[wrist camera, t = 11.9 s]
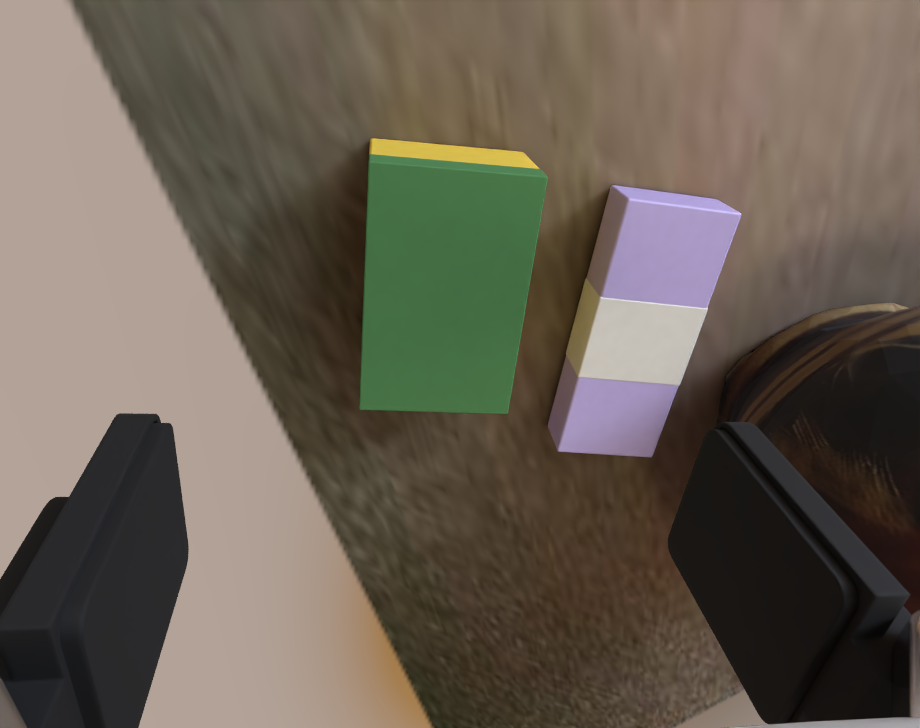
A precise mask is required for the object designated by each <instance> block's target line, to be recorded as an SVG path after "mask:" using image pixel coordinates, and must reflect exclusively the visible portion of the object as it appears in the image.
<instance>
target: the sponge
mask: <svg viewBox="0 0 920 728" xmlns="http://www.w3.org/2000/svg"><path fill="white" fill-rule="evenodd" d="M547 180H548V177H547V176H546V175H545V174H544V173H543V171H542V170H541V169H539V168H538V167H537V166H536V165H535V164H534V163H533V162H532V161H531V160H530V159H529V158H528V157H527V156H526V155H525V154H524V153H523V152H517V151H506V150H495V149H485V148H474V147H463V146H452V145H441V144H430V143H419V142H408V141H397V140H386V139H375V138H372V139H371V140H370V148H369V162H368V187H367V214H366V240H365V267H364V293H363V320H362V346H361V373H360V399H359V409H360V410H381V411H414V412H448V413H481V414H508V409H509V403H510V397H511V392H512V386H513V380H514V374H515V368H516V362H517V356H518V350H519V345H520V339H521V333H522V327H523V321H524V315H525V309H526V304H527V298H528V292H529V286H530V280H531V274H532V268H533V262H534V257H535V251H536V245H537V239H538V233H539V227H540V221H541V215H542V210H543V204H544V198H545V192H546V186H547Z"/></svg>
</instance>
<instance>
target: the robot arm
mask: <svg viewBox="0 0 920 728" xmlns="http://www.w3.org/2000/svg"><path fill="white" fill-rule="evenodd" d="M668 548H669V552H670V555H671V557H672V559H673V561H674V562H675V564H676V566H677V568H678V570H679V571H680V573H681V575H682V577H683V579H684V580H685V582H686V584H687V586H688V588H689V589H690V591H691V593H692V595H693V597H694V599H695V600H696V602H697V604H698V606H699V608H700V609H701V611H702V613H703V615H704V617H705V618H706V620H707V622H708V624H709V626H710V627H711V629H712V631H713V633H714V635H715V636H716V638H717V640H718V642H719V644H720V645H721V647H722V649H723V651H724V653H725V655H726V656H727V658H728V660H729V662H730V664H731V665H732V667H733V669H734V671H735V673H736V674H737V676H738V678H739V680H740V682H741V683H742V685H743V687H744V689H745V691H746V692H747V694H748V696H749V698H750V700H751V701H752V703H753V705H754V707H755V709H756V710H757V712H758V714H759V716H760V717H761V719H762V720H763V721H764V722H765V723H767V724H769V725H756V726H741V727H727V728H920V609H919V610H918V611H916V612H915V613H913V614H912V615H911V614H910V613H909V612H908V611H907V609H906V608H905V607H904V604H905V602H906V601H907V599H908V598H909V596H910V594H909V592H908V591H907V590H906V589H905V588H904V587H903V586H902V585H901V584H900V583H899V581H898V580H897V579H896V578H895V577H894V576H893V575H892V574H891V573H890V572H889V571H888V569H887V568H886V567H885V566H884V565H883V564H882V563H881V562H880V561H879V560H878V559H877V557H876V556H875V555H874V554H873V553H872V552H871V551H870V550H869V549H868V548H867V547H866V545H865V544H864V543H863V542H862V541H861V540H860V539H859V538H858V537H857V536H856V535H855V533H854V532H853V531H852V530H851V529H850V528H849V527H848V526H847V525H846V524H845V522H844V521H843V520H842V519H841V518H840V517H839V516H838V515H837V514H836V513H835V512H834V510H833V509H832V508H831V507H830V506H829V505H828V504H827V503H826V502H825V501H824V500H823V498H822V497H821V496H820V495H819V494H818V493H817V492H816V491H815V490H814V489H813V488H812V486H811V485H810V484H809V483H808V482H807V481H806V480H805V479H804V478H803V477H802V475H801V474H800V473H799V472H798V471H797V470H796V469H795V468H794V467H793V466H792V465H791V463H790V462H789V461H788V460H787V459H786V458H785V457H784V456H783V455H782V454H781V453H780V451H779V450H778V449H777V448H776V447H775V446H774V445H773V444H772V443H771V442H770V441H769V439H768V438H767V437H766V436H765V435H764V434H763V433H762V432H761V431H760V430H759V429H758V427H757V426H755V425H754V424H753V423H749V422H721V423H718V424H717V425H716V426H715V427H714V429H713V430H709V431H708V432H707V433H706V435H705V437H704V440H703V443H702V446H701V448H700V451H699V454H698V457H697V459H696V462H695V465H694V468H693V470H692V473H691V476H690V479H689V481H688V484H687V487H686V490H685V492H684V495H683V498H682V501H681V503H680V506H679V509H678V512H677V514H676V517H675V520H674V523H673V525H672V528H671V531H670V534H669V537H668ZM187 561H188V539H187V531H186V524H185V516H184V508H183V501H182V493H181V486H180V478H179V471H178V463H177V456H176V448H175V441H174V433H173V427H172V425H171V424H170V423H161V421H160V418H159V416H158V415H157V414H118V415H116V417H115V418H114V420H113V421H112V423H111V425H110V427H109V428H108V430H107V432H106V434H105V435H104V437H103V439H102V441H101V442H100V444H99V446H98V447H97V449H96V451H95V453H94V454H93V456H92V458H91V460H90V461H89V463H88V465H87V467H86V469H85V470H84V472H83V474H82V476H81V477H80V479H79V481H78V482H77V484H76V486H75V488H74V489H73V491H72V493H71V495H70V496H69V497H55V498H53V499H52V500H50V501H49V502H48V503H47V505H46V506H45V507H44V508H43V510H42V512H41V513H40V515H39V517H38V518H37V520H36V521H35V523H34V525H33V526H32V528H31V530H30V531H29V533H28V535H27V536H26V538H25V540H24V541H23V543H22V544H21V546H20V548H19V549H18V551H17V553H16V554H15V556H14V558H13V559H12V561H11V562H10V564H9V566H8V567H7V569H6V571H5V573H4V574H3V576H2V577H1V579H0V728H138V727H139V723H140V720H141V717H142V713H143V710H144V707H145V703H146V700H147V697H148V693H149V690H150V687H151V683H152V680H153V677H154V673H155V670H156V667H157V663H158V660H159V657H160V653H161V650H162V647H163V643H164V640H165V637H166V633H167V630H168V627H169V623H170V619H171V616H172V613H173V610H174V607H175V603H176V600H177V597H178V593H179V590H180V587H181V583H182V580H183V577H184V573H185V570H186V566H187Z"/></svg>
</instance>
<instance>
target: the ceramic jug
mask: <svg viewBox="0 0 920 728" xmlns="http://www.w3.org/2000/svg"><path fill="white" fill-rule="evenodd" d="M721 422H749V423H753V424H754V425H755V426H757V427H758V429H759V430H760V431H761V432H762V433H763V434H764V435H765V436H766V437H767V438H768V439H769V441H770V442H771V443H772V444H773V445H774V446H775V447H776V448H777V449H778V450H779V451H780V453H781V454H782V455H783V456H784V457H785V458H786V459H787V460H788V461H789V462H790V463H791V465H792V466H793V467H794V468H795V469H796V470H797V471H798V472H799V473H800V474H801V475H802V477H803V478H804V479H805V480H806V481H807V482H808V483H809V484H810V485H811V486H812V488H813V489H814V490H815V491H816V492H817V493H818V494H819V495H820V496H821V497H822V498H823V500H824V501H825V502H826V503H827V504H828V505H829V506H830V507H831V508H832V509H833V510H834V512H835V513H836V514H837V515H838V516H839V517H840V518H841V519H842V520H843V521H844V522H845V524H846V525H847V526H848V527H849V528H850V529H851V530H852V531H853V532H854V533H855V535H856V536H857V537H858V538H859V539H860V540H861V541H862V542H863V543H864V544H865V545H866V547H867V548H868V549H869V550H870V551H871V552H872V553H873V554H874V555H875V556H876V557H877V559H878V560H879V561H880V562H881V563H882V564H883V565H884V566H885V567H886V568H887V569H888V571H889V572H890V573H891V574H892V575H893V576H894V577H895V578H896V579H897V580H898V581H899V583H900V584H901V585H902V586H903V587H904V588H905V589H906V590H907V591H908V592H909V594H910V596H909V598H908V599H907V601H906V602H905V604H904V607H905V608H906V609H907V611H908V612H909V613H910V614H911V615H912V614H913V613H915V612H916V611H918V610H919V609H920V307H914V308H907V307H904V306H901V305H898V304H895V303H880V304H869V305H860V306H852V307H844V308H836V309H829V310H826V311H823V312H820V313H817V314H813V315H812V316H810V317H808V318H806V319H804V320H803V321H801V322H799V323H797V324H795V325H794V326H792V327H790V328H788V329H786V330H785V331H783V332H781V333H779V334H777V335H776V336H774V337H772V338H770V339H769V340H768V341H766V342H765V343H764V344H762V345H761V346H760V347H758V348H757V349H756V350H754V351H753V352H752V353H750V354H748V355H746V356H744V357H742V359H741V360H740V361H739V362H738V363H737V364H736V365H735V367H734V368H733V369H732V370H731V371H730V372H729V374H728V375H727V376H726V380H725V387H724V390H723V393H722V396H721V400H720V407H719V415H718V419H717V423H716V425H717V424H718V423H721Z"/></svg>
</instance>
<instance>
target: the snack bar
mask: <svg viewBox="0 0 920 728" xmlns="http://www.w3.org/2000/svg"><path fill="white" fill-rule="evenodd" d="M740 217H741V213H739V212H738V211H736V210H734V209H733V208H731V207H729V206H727V205H726V204H724V203H722V202H721V201H719V200H717V199H711V198H704V197H697V196H689V195H682V194H675V193H667V192H660V191H653V190H645V189H638V188H631V187H623V186H616V185H612V186H611V188H610V191H609V195H608V199H607V203H606V207H605V210H604V214H603V218H602V222H601V226H600V229H599V233H598V237H597V241H596V244H595V248H594V252H593V256H592V260H591V263H590V267H589V271H588V275H587V278H586V279H585V282H584V286H583V290H582V293H581V297H580V301H579V305H578V309H577V312H576V316H575V320H574V324H573V328H572V331H571V335H570V339H569V343H568V347H567V350H566V358H565V362H564V365H563V369H562V373H561V377H560V381H559V384H558V388H557V392H556V396H555V400H554V403H553V407H552V411H551V415H550V418H549V422H548V428H549V431H550V433H551V436H552V438H553V441H554V443H555V446H556V448H557V451H559V452H572V453H589V454H605V455H622V456H638V457H652V456H653V454H654V451H655V448H656V445H657V443H658V440H659V437H660V435H661V432H662V429H663V426H664V424H665V421H666V418H667V416H668V413H669V410H670V407H671V405H672V402H673V399H674V397H675V394H676V391H677V388H678V386H679V385H680V384H681V381H682V378H683V375H684V373H685V370H686V367H687V365H688V362H689V359H690V356H691V354H692V351H693V348H694V346H695V343H696V340H697V337H698V335H699V332H700V329H701V327H702V324H703V321H704V319H705V316H706V313H707V310H708V308H707V307H708V304H709V302H710V299H711V296H712V293H713V291H714V288H715V285H716V283H717V280H718V277H719V274H720V272H721V269H722V266H723V264H724V261H725V258H726V255H727V253H728V250H729V247H730V245H731V242H732V239H733V236H734V234H735V231H736V228H737V225H738V223H739V220H740Z"/></svg>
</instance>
